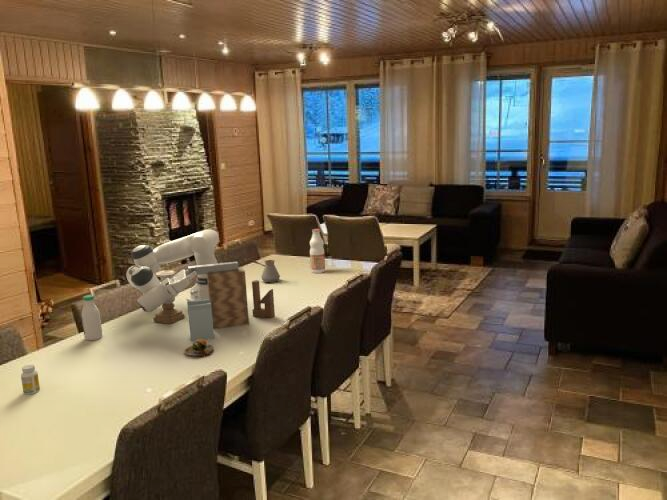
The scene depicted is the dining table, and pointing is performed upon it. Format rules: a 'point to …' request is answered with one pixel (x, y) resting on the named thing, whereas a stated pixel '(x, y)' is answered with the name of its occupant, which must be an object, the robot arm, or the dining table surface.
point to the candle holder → (168, 304)
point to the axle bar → (214, 268)
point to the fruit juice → (317, 253)
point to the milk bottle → (91, 319)
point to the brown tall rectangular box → (228, 298)
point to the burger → (199, 349)
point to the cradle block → (200, 319)
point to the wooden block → (262, 302)
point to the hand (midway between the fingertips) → (195, 269)
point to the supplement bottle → (30, 380)
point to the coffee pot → (268, 271)
